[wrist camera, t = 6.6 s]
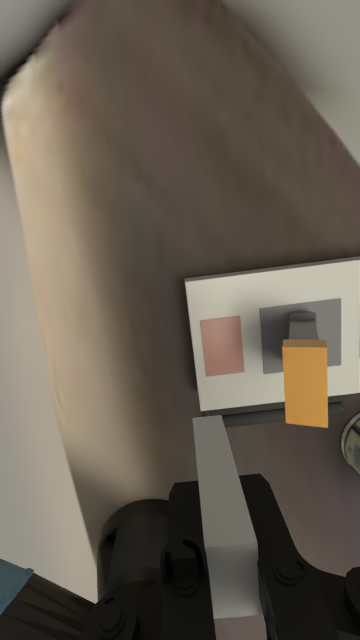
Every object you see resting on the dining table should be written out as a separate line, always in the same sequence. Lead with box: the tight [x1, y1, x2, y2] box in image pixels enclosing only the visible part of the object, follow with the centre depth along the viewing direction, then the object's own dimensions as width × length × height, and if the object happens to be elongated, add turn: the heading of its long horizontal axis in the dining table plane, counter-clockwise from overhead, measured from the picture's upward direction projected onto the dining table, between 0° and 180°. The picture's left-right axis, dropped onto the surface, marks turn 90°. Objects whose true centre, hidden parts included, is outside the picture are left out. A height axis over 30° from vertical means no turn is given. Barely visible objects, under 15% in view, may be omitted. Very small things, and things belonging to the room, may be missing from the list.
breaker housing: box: [184, 256, 360, 411], centre depth 30 cm, size 22×14×5 cm, turn 97°
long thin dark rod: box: [202, 395, 344, 427], centre depth 34 cm, size 18×3×2 cm, turn 97°
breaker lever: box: [282, 311, 328, 428], centre depth 23 cm, size 3×6×11 cm, turn 8°
